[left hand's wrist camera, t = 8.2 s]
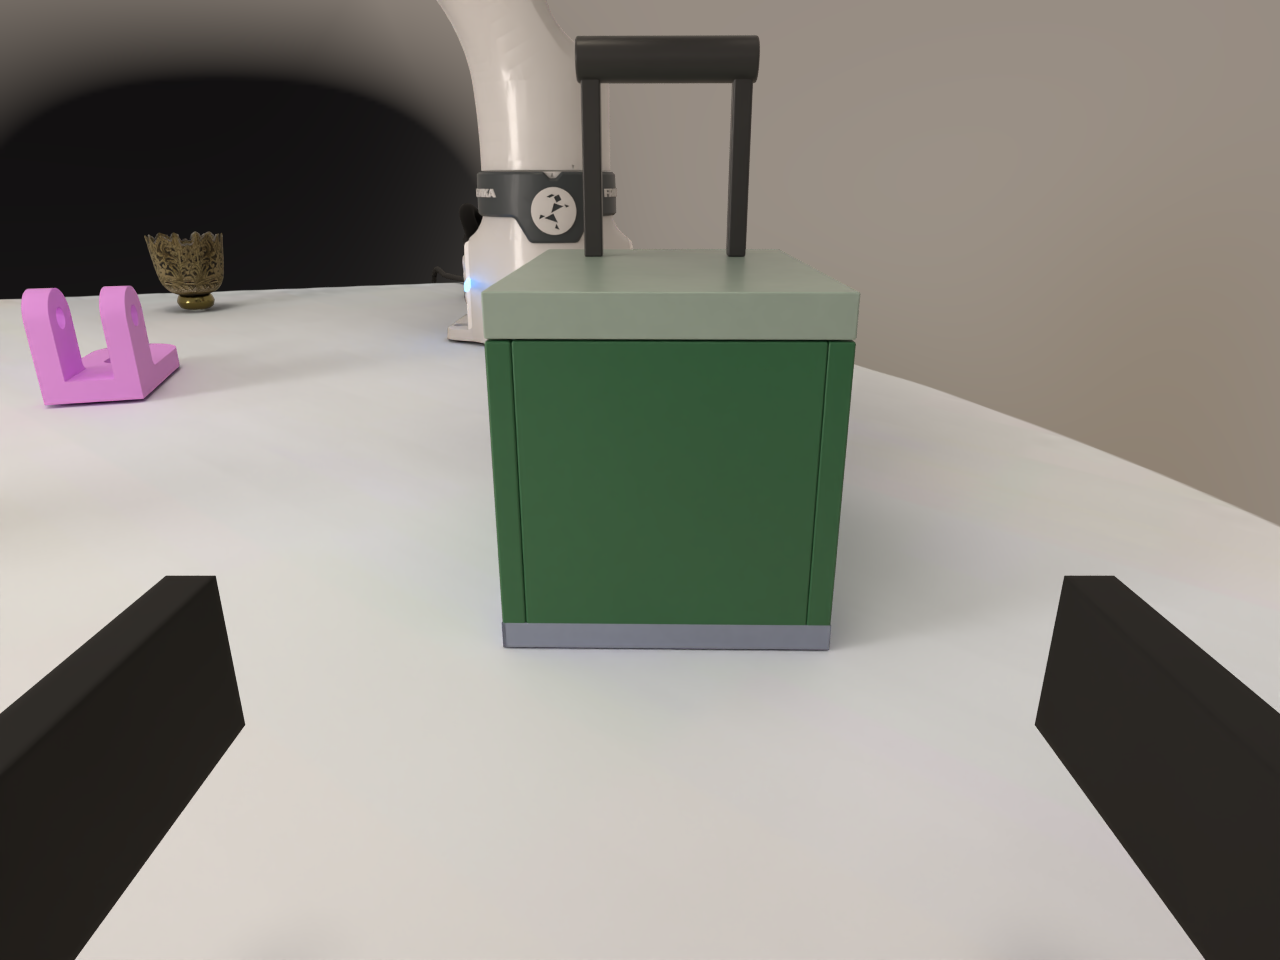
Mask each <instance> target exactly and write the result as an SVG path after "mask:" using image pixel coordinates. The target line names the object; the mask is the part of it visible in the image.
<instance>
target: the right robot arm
mask: <svg viewBox="0 0 1280 960" xmlns="http://www.w3.org/2000/svg"><path fill="white" fill-rule="evenodd" d="M437 1H438V3H439V4H440V6H441V7H442V9H443V10H444V12H445V13H446V15H447V17H448V19H449V20H450V22H451V24H452V26H453V28H454V30H455V32H456V34H457V36H458V38H459V40H460V43H461V45H462V48H463V50H464V53H465V56H466V59H467V62H468V65H469V69H470V73H471V78H472V83H473V90H474V96H475V103H476V111H477V120H478V129H479V140H480V153H481V169H482V171H502V172H479V173H478V174H477V189H476V196H477V197H478V210H479V214H480V215H481V216H483V218H482V221H481V224H480V226H479V228H478V230H477V231H476V232H475V233H474V234H473V235H472V236H471V237H470V238H469V241H467V242H466V243H465V247H464V249H465V255H464V256H463V269H464V277H462V276H458V275H453V274H448V273H445V272H444V271H443V270H442V269H441V268H440V267H438V266H437V267H435V268H434V269H433V272H432V283H436V278H437V272H438V273H439V274H440V275H441V276H443V277H445V278H448V279H452V280H457V281H461V282H464V288H465V301H466V304H467V312H468V314H466V315H465V316H464V317H462V318H461V319H459V320H458V321H457V322H455V323H454V324H452V325H451V326H449V327H448V336H447V338H448V339H451V340H461V341H474V342H480V343H485V341H486V340H487V339H485V338H484V333H483V317H482V302H481V292H482V291H483V290H485V289H487V288H488V287H490V286H491V285H493V284H495V283H496V282H498V281H499V280H501V279H502V278H504V277H506V276H507V275H509V274H510V273H512V272H514V271H515V270H517V269H518V268H520V267H521V266H523V265H525V264H526V263H528V262H529V261H531V260H533V259H534V258H536V257H537V256H539V255H540V254H542V253H544V252H545V251H547V250H548V249H584V211H583V167H582V123H581V83H578V82H577V79H576V70H575V41H574V40H572V39H571V38H570V37H569V36H568V35H567V34H566V33H565V32H564V31H563V30H562V29H561V27H560V26H559V25H558V23H557V21H556V20H555V18H554V16H553V15H552V13H551V11H550V8H549V6H548V3H547V1H546V0H437ZM601 121H602V171H610V115H609V84H608V83H601ZM602 188H603V249H633V246H632V242H631V240H629V239H628V238H627V236H626V235H624V234H623V233H622V232H621V231H620V230H619V229H618V227H617V226H616V224H615V222H614V220H613V217H612V215H614V214H615V213H616V196H617V189H616V187H615V174H614V173H613V172H602Z"/></svg>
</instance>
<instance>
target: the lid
mask: <svg viewBox="0 0 1280 960" xmlns="http://www.w3.org/2000/svg"><path fill="white" fill-rule="evenodd" d="M759 57H760V42H759V37H758V36H756V35H751V36H750V35H748V36H746V35H745V36H577V37H576V39H575V70H576V79H577V82H578V83H581V123H582V167H583V211H584V249H548V250H547V251H545V252H544V253H542V254H540V255H539V256H537V257H536V258H534V259H533V260H531V261H529V262H528V263H526V264H525V265H523V266H521V267H520V268H518V269H517V270H515V271H514V272H512V273H510V274H509V275H507V276H506V277H504V278H502V279H501V280H499V281H498V282H496V283H495V284H493V285H491V286H490V287H488V288H487V289H485V290H483V291H482V292H481V302H482V317H483V333H484V338H485V339H689V340H855V339H856V336H857V325H858V314H859V303H860V292H858V291H856V290H854V289H852V288H850V287H849V286H847V285H845V284H843V283H841V282H839V281H837V280H835V279H834V278H832V277H830V276H828V275H826V274H824V273H822V272H820V271H819V270H817V269H815V268H813V267H811V266H809V265H807V264H805V263H804V262H802V261H800V260H798V259H796V258H794V257H792V256H791V255H789V254H787V253H785V252H783V251H781V250H753V249H750V250H748V249H746V232H747V209H748V185H749V162H750V138H751V114H752V91H753V83H755V82H756V80H757V77H758V70H759ZM601 83H732V100H731V129H730V159H729V187H728V216H727V245H726V249H603V188H602V121H601Z"/></svg>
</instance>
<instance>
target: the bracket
mask: <svg viewBox="0 0 1280 960" xmlns="http://www.w3.org/2000/svg"><path fill="white" fill-rule="evenodd" d="M99 308H100V316H101V321H102V325H103V330H104V334H105V339H106V343H107V347H108V348H105V349H100V350H97V351H94V352H92V353H90V354H88V355H86V356H85V357H83V358H81V355H80V351H79V347H78V342H77V338H76V334H75V330H74V326H73V321H72V317H71V313H70V309H69V306H68V304H67V301H66V299H65V297H64V296H63V294H62V293H61V291H59V290H58V289H56V288H45V289H27V290H26V291H25V292H24V294H23V296H22V302H21V310H22V318H23V323H24V327H25V331H26V335H27V338H28V342H29V346H30V350H31V354H32V358H33V362H34V366H35V369H36V373H37V377H38V381H39V385H40V389H41V393H42V397H43V400H44V404H45V405H54V404H69V403H85V402H101V401H116V400H132V399H144V398H145V397H146V396H147V395H148V394H149V393H150V392H152V391H153V390H154V389H155V388H156V387H157V386H158V385H159V384H160V383H161V382H163V381H164V380H165V379H166V378H167V377H168V376H169V375H170V374H171V373H172V372H173V371H175V370H176V369H177V368H178V367H179V360H178V355H177V350H176V346H174V345H170V344H149V341H148V337H147V332H146V327H145V322H144V317H143V312H142V308H141V304H140V301H139V298H138V296H137V293H136V292H135V290H134V289H133V287H131V286H110V287H103V288H102V289H101V292H100V297H99Z"/></svg>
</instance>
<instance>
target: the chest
mask: <svg viewBox="0 0 1280 960" xmlns="http://www.w3.org/2000/svg"><path fill="white" fill-rule="evenodd" d="M484 345H485V360H486V375H487V390H488V406H489V421H490V436H491V451H492V467H493V482H494V497H495V512H496V528H497V543H498V558H499V573H500V589H501V604H502V619H503V622H502V632H503V647H572V648H689V649H806V650H829V642H830V631H831V625H830V622H831V611H832V600H833V589H834V578H835V567H836V556H837V545H838V534H839V523H840V512H841V501H842V490H843V479H844V468H845V457H846V446H847V435H848V423H849V412H850V401H851V390H852V379H853V368H854V357H855V346H856V344H855V342H854V341H853V340H689V339H487V340H486V341H485V343H484Z"/></svg>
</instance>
